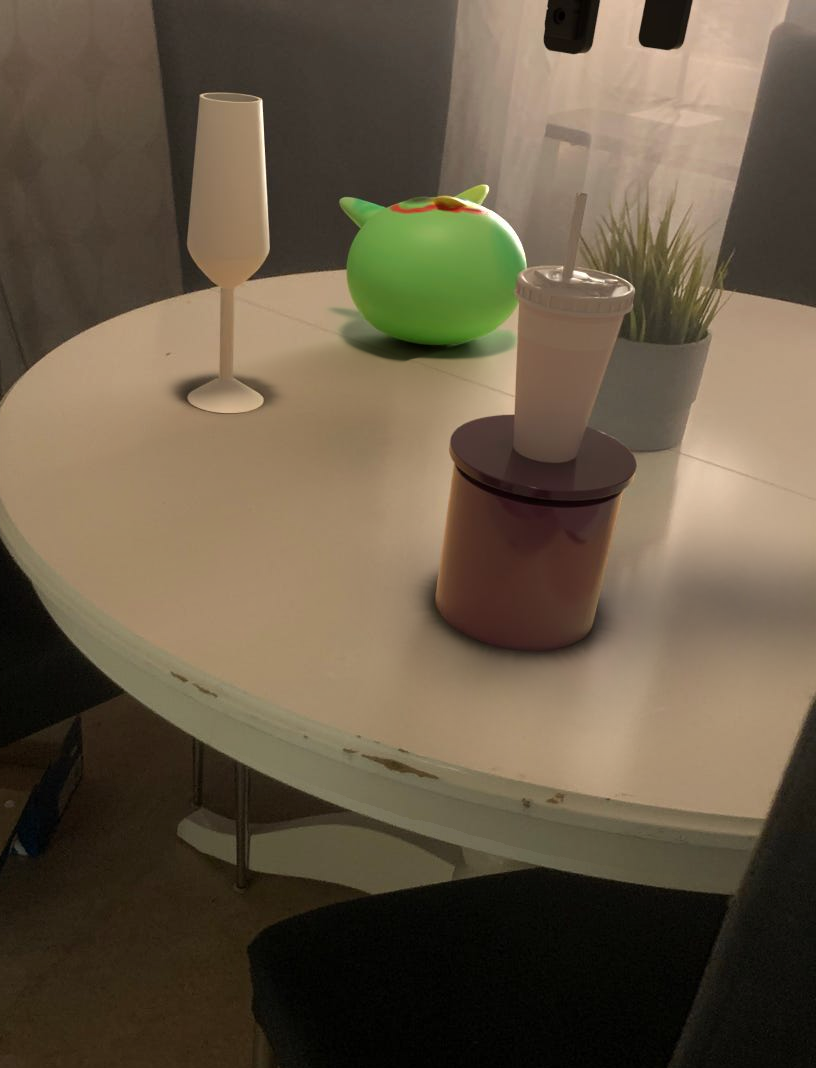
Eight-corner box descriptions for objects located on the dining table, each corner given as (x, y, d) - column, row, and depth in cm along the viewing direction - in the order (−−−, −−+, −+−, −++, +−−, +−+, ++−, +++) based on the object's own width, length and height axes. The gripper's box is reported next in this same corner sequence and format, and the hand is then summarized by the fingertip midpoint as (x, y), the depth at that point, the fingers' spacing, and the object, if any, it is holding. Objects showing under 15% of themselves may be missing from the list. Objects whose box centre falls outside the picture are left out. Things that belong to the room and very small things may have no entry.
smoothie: (514, 419, 68) (555, 177, 61) (615, 446, 66) (670, 197, 58) (472, 452, 64) (510, 194, 56) (579, 483, 61) (634, 217, 54)
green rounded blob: (363, 368, 107) (377, 207, 99) (323, 313, 120) (333, 168, 112) (537, 365, 111) (565, 211, 103) (480, 312, 125) (500, 172, 116)
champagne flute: (240, 380, 102) (247, 90, 89) (278, 406, 97) (291, 104, 84) (173, 391, 98) (171, 91, 85) (209, 418, 94) (212, 105, 81)
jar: (494, 554, 77) (520, 401, 71) (630, 618, 71) (671, 456, 65) (393, 608, 70) (412, 443, 64) (534, 683, 64) (570, 509, 58)
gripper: (699, -465, 38) (603, 66, 47) (859, -375, 47) (754, 56, 56) (519, -441, 42) (462, 44, 51) (698, -362, 51) (623, 38, 60)
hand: (615, 50), depth 53 cm, fingers open, 8 cm apart
